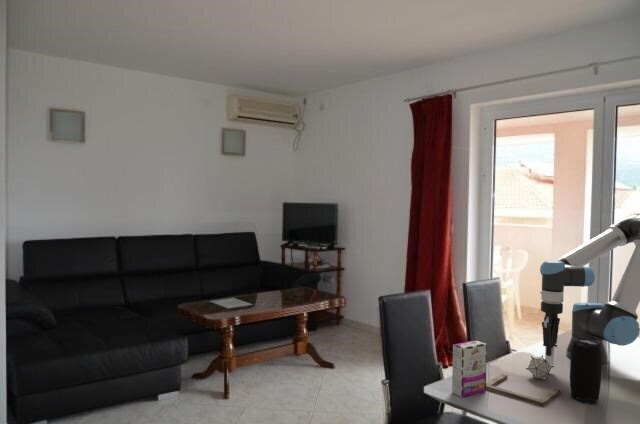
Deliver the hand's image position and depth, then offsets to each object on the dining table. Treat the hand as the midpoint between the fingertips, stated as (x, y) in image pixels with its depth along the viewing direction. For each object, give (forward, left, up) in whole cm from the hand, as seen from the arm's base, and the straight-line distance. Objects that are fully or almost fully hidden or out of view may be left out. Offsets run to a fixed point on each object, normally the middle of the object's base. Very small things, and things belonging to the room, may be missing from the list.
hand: (549, 363), depth 183 cm
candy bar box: (+43, -11, -3) cm, 44 cm away
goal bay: (+27, 0, -3) cm, 27 cm away
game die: (+11, 0, -3) cm, 11 cm away
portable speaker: (+19, +17, -3) cm, 26 cm away
